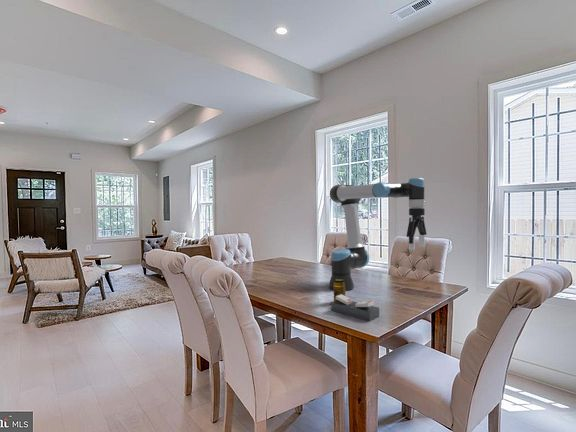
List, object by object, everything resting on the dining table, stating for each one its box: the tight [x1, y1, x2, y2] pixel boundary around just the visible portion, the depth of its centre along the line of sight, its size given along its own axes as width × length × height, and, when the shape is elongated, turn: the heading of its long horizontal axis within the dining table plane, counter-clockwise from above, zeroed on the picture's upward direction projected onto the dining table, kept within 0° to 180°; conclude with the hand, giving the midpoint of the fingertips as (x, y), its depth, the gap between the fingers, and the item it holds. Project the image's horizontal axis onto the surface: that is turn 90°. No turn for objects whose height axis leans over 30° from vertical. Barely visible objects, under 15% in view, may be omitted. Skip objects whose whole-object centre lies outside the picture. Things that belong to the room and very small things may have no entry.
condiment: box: [333, 279, 346, 301], centre depth 160 cm, size 7×8×12 cm
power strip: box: [329, 300, 380, 322], centre depth 143 cm, size 25×8×5 cm, turn 44°
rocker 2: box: [355, 300, 375, 307], centre depth 138 cm, size 7×4×2 cm, turn 44°
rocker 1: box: [336, 294, 354, 305], centre depth 146 cm, size 7×4×2 cm, turn 44°
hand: (416, 248), depth 159 cm, fingers open, 13 cm apart
